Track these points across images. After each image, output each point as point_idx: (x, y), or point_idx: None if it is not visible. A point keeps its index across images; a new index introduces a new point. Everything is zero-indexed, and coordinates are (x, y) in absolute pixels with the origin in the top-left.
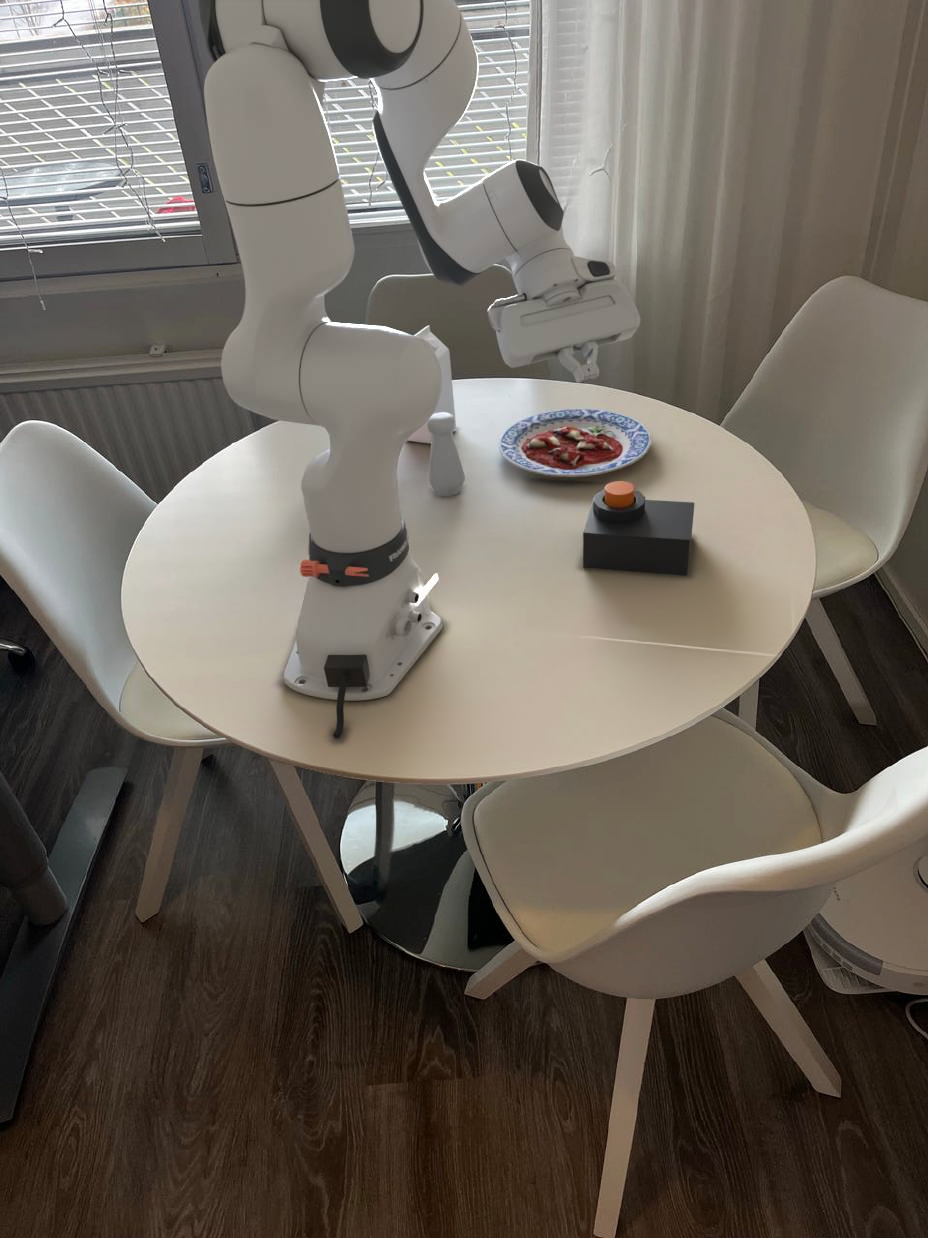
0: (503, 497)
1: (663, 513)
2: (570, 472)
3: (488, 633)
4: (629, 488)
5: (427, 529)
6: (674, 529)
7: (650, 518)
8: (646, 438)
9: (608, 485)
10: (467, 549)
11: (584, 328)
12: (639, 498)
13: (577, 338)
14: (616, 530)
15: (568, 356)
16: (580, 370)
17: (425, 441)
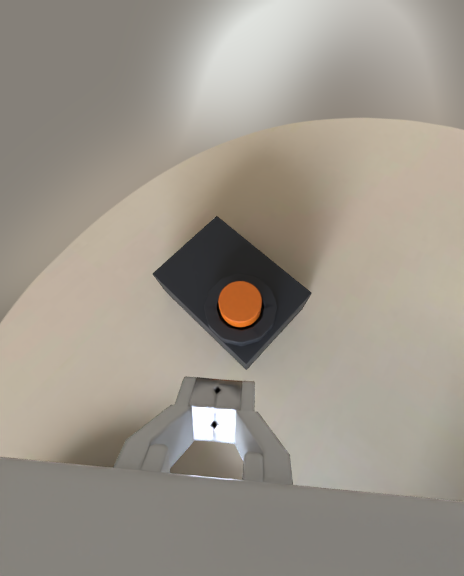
0: None
1: (200, 274)
2: None
3: (446, 266)
4: (229, 291)
5: None
6: (215, 239)
7: (221, 273)
8: None
9: (249, 315)
10: (416, 435)
11: (128, 533)
12: (217, 292)
13: (206, 490)
14: (273, 274)
15: (278, 448)
16: (248, 396)
17: None
